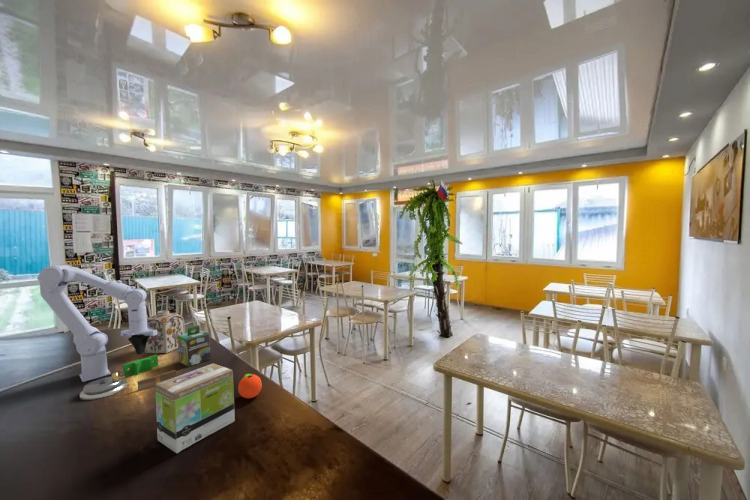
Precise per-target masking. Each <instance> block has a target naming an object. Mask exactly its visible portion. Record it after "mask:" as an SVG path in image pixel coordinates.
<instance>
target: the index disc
mask: <svg viewBox="0 0 750 500" xmlns="http://www.w3.org/2000/svg"><path fill="white" fill-rule="evenodd" d="M123 378H126V377H125V376H124V375H123V376H121V375H119V373H118V371H117V372H113V373H111V376H105V377H101V378H97V380H95V379H94V381H90V382H88V383H87V384H86V385H84V386H83V388H82V391H83V390H84V394H87V395H91V394H98V393H103V392H106V391H109V390H112V389H114V388H116V387H118V386H120V385H121V384H122V383H123V380H124V379H123Z"/></svg>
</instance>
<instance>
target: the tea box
mask: <svg viewBox="0 0 750 500" xmlns="http://www.w3.org/2000/svg"><path fill="white" fill-rule="evenodd" d="M154 387H155V388H154V389H155V390H154V391H155V392H154V393H155V413H156V415H155V416H156V430H157V431H156V433H157V435H156V436H157V441H158V442H160V443H161V444H162V445H164V446H165V447H166V448H168V449H169V450H170V451H172V452H173V453H176V454H179V453H181V452H182V451H183V450H185V449H187V448H189V447H191V446H192V445H193V444H194V445H195V444H197V442H199V441H201V440H202V439H205V438H207V437H208V436H210V435H212V434H214V433H216V432H218V431H220V430H222V429H223V428H225V427H227V426H228V425H230V424H232V423H234V422H235V421H236V419H235V398H234V397H235V396H234V395H235V394H234V393H235V391H234V372H233V369H230V368H229V367H226V366H222V365H219V364H216V363H210V364H207V365H205V366H202V367H199V368H197V369H194V370H191V371H188V372H185V373H183V374H180V375H176V377H174V378H171V379H168V380H166V381H163V382H160V383H157V384H156V385H155V386H154Z"/></svg>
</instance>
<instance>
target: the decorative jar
mask: <svg viewBox="0 0 750 500" xmlns="http://www.w3.org/2000/svg"><path fill="white" fill-rule="evenodd" d="M147 326H148V329H153V330H157V335H155V336H151V335H150V337H149V339H148V341H147V343H146V347H145V351H144V353H145V354H159V353H167V354H169V353H171V352H174V351H175V349H176V350H177V349H178V341H177V336H179V335H182V334H185V333H186V328H185V327H186V325H185V319H184V317H183V316H182V315H181V314H179V313H177V312H170V310H168V309H166V310H164V309H163V310H159V311H157V312H156V314H155V315H151V316H149V317H147ZM170 351H171V352H170ZM168 352H169V353H168Z"/></svg>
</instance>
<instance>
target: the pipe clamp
mask: <svg viewBox="0 0 750 500" xmlns="http://www.w3.org/2000/svg"><path fill="white" fill-rule="evenodd" d="M158 357H159V356H158V354H154V355H150V356H148V357H145V358H141V359H138V360H137V359H136V360H134V361H131V362H128V363H124V364H122V373H123V376H125V377H124V378H126V377H128V376H132V375H136V376H138V375H140V373H142V372H144V371H146V372H147V371H153V368H155V367H157V366H159V358H158Z"/></svg>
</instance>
